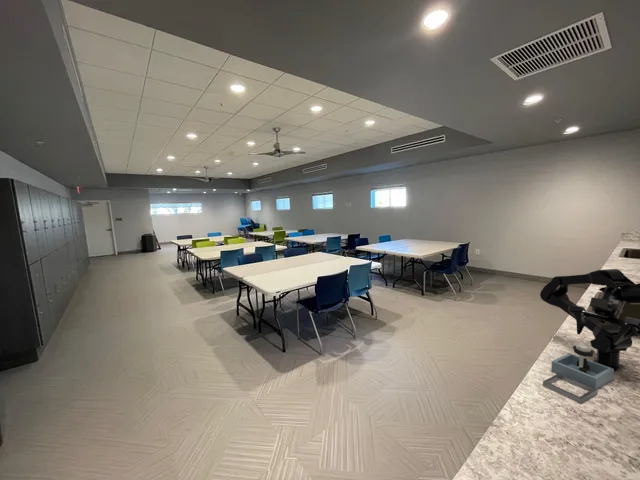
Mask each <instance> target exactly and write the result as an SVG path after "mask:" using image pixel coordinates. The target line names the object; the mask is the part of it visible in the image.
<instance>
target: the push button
mask: <svg viewBox="0 0 640 480" xmlns="http://www.w3.org/2000/svg"><path fill="white" fill-rule="evenodd" d="M572 350H573V351H574V353H575V355H577V356H579V360H578V362H577V368H576V370H579V371H581V372H584V373H586V374H589V371H590V366H589V365H588V364H587V360H588V358H591V357H593V356H594V354H595V351H594V350H593V349H592V348H591V346H589V345H586V344H583V343H582V344H581V343H577V344H576V345H573V346H572Z"/></svg>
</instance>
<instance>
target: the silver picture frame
mask: <svg viewBox="0 0 640 480" xmlns="http://www.w3.org/2000/svg"><path fill="white" fill-rule="evenodd" d="M560 380H562V381H564V382H565V383H569V384H571V385H573V386H576V387H578V388H580V389H583V390H585V391H586V392H585V393H584V394H582V395H581V396H579V395H576V394H574V393H572V392H570V391H568V390H565V389H563V388H561V387H559V386H557V385H555V384H554V383H556V382H557V381H560ZM542 386H543V387H545V388H547V389H549V390H551V391H554V392H555V393H557V394H560V395H562V396H564V397H566V398H567V399H571V400H573V401H574V402H576V403H578V404H581V405H582V404H584V403H585V402H587V401H589V400H590V399H592V398H594V397H595V396H597V395H598V394H599V392H598V391H599V389H596V388H593V387H591V386H589V385H586V384H584V383H581V382H579V381H577V380H574V379H572V378H570V377H567V376H565V375H563V374H560V373H559V374H554V375H553V376H550V377H549V378H547V379H545V380H542Z"/></svg>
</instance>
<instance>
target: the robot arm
mask: <svg viewBox="0 0 640 480" xmlns="http://www.w3.org/2000/svg"><path fill="white" fill-rule="evenodd" d="M585 284H588V285H589V284H590V285H593V286H594V285H595V286H596V285H597V286H602V287H600V288H599V289H598V290H599V291H600V292H601V293H602V295H601V298H598V297H591V299H590V302H589V305H588V306H589V307H591V310H592V312H591V311H587V309H586V308H585V307H584V306H581V305H577V304H576V303H574V302H573V301H571V300H570V298H569V296H568V294H567V293H569V285H585ZM603 286H604V287H603ZM539 296H540V299H541V300H542V301H543V302H545V303H547V304H548V305H550V306H553V307H557V308H560V309H561V310H562V311H564V313H566V314H567V315H569V316H570V317H572V318H573V319H574V320H575V321H576V333H577V335H581V333H582V332H583V330H584V327H585V328H587V330H589V331H590V332H591V333H592V334H593V337H594V339H592V340H590V341H589V343H590V347H592V348H593V349H596V358H595V359H593V360H592V361H593V362H596V363H599V364H601V365H604V366H607V367H610V368H613V369H614V371H615V372H616V371H619V370H620V369H622V368H623V367H624V365H623V364H621V363H620V357H621V356H620V353H621V352H623V351H624V352H627V350H628V348H629V349H630V348H631V347H632V346H633V339H632V337H639V336H640V319H638V318H634V317H630V316H625V317H624V318H623V319H621V318H619V317H620V315H621V314H623V312H624V311H623V308H624V306H625V304H626V303H627V304H630V305H640V282H639V283H635V282H634V281H633V280H631V279H630V278H628V276H625V274H624V273H623V271H621V270H619V269H618V268H610V269H608V268H607V269H597V270H594V271H591V272H588V273H585V274H584V273H583V274H574V275H556V276H554V277H552V279H551V280H550V281H549V282H548V283H547V284H546V285H545V286H543V288H542V289H541V291H540V293H539ZM602 321H603V322H602ZM604 322H606V323H609V324H606V323H604Z"/></svg>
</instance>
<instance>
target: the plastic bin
mask: <svg viewBox="0 0 640 480" xmlns="http://www.w3.org/2000/svg"><path fill="white" fill-rule="evenodd" d="M578 360H579V355H577V354H573V353H570V352H569V353H566V354H565V355H562V356H560V357H558V358H556V359H553V360H552V361H551V368H550V371H551V372H552V373H553V374H555V375H557V374H559V373H560V374H563V375H565V376H567V377H570V378H572V379H574V380H577V381H579V382H581V383H584V384H586V385H589V386H591V387H593V388H596V389H598V390H599V389H601V388H603V387H604V386H606V385H607V384H609V383H611V382H612V381H614V373H615V372H614V369H613V368H610V367H607V366H604V365H601V364H599V363H596V362H593V360H590V359H587V364H588V365H589V366H590V371H589V374H586V373H584V372H581V371H579V370H576V368H577V362H578Z"/></svg>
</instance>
